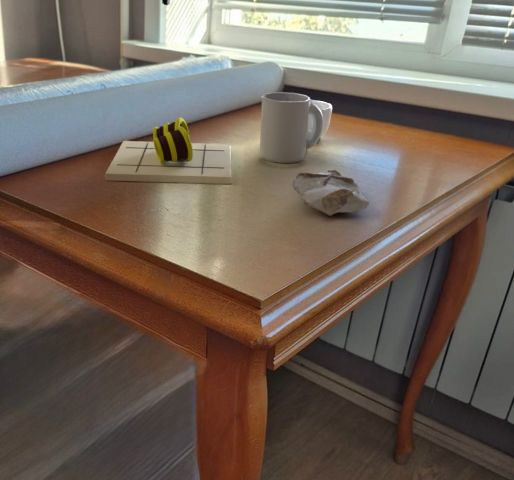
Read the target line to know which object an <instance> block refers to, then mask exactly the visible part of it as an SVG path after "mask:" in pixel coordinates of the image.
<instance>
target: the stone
mask: <svg viewBox="0 0 514 480" xmlns="http://www.w3.org/2000/svg"><path fill="white" fill-rule="evenodd" d="M291 186H292V188H293V190H294V191H295V192H296V193H297V194H298V195H299V196H300V197H301V201H302V202H303V204H304V205H306V206H308V207H311V208H313V209H314V210H317V211H319V212H321V213H324V214H325V215H327V216H330V217H331V216H333V215H334V214H338V213H354V212H359V211H362V210H364V209H366V208H367V207H368V206H369V205H370V200H369V199H367V198H366V197H365V196H364V195H363V194H362V192H361V189H360V186H359V184H358V182H356V181H355V180H354V179H353V178H351V177H347V176H345V175H344V174H342V173H340V171H338V170H336V169H332V170H329V169H328V170H327V171H326V172H299V173H297V174H296V177H294V178H293V180H292V184H291Z"/></svg>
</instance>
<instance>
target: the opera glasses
mask: <svg viewBox="0 0 514 480" xmlns="http://www.w3.org/2000/svg"><path fill="white" fill-rule="evenodd" d="M152 138H153V139H152V142H154V147H155V151H156V154H157V157H158V160H159V162H160V163H164V161H167V162H168V161H169V160H171V161H172V162H177V160H184V161H186V162H190V161H191V160H192V158H193V148H192V144H191V143H192V141H191V138H190V130H189V127H188V124H187V122H186V120H185V119H184V118H183V117H177V118H176V119H175V121H173V122H166V123H165V124H163V125H160V126H159V127H158V126H154V127H153V128H152Z"/></svg>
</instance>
